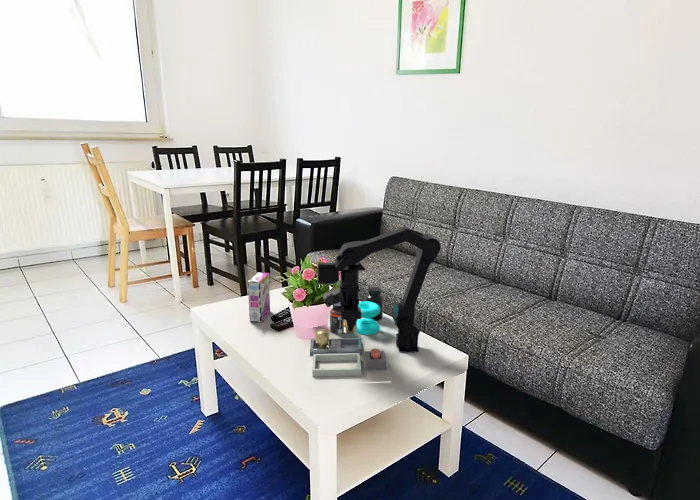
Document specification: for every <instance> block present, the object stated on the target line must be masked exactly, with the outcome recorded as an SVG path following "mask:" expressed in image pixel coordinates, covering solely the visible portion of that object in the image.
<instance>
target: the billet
mask: <svg viewBox="0 0 700 500" xmlns="http://www.w3.org/2000/svg"><path fill="white" fill-rule="evenodd" d="M343 331H344V332H345V333H346V334H351V335H352V334H355V333H356V331H357V322H356V324H355V326H354V328H353V330H352V331H349V330H348V326H347V321H346V320H343ZM345 333H344V334H345Z"/></svg>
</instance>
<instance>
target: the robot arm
mask: <svg viewBox="0 0 700 500" xmlns="http://www.w3.org/2000/svg"><path fill="white" fill-rule="evenodd" d="M406 242H407V243H409V244H411V245H413V246H414V247H416V252H415V253H416V256H415V258H416V260H415V263H414V266H413V267H412V271H411V275H410V278H409V280H408V283H407V286H406V287H405V291H404V294H403V296H402V299H401V300H400V301H399V302H396V301H395V302H394V305H393V309H392V310H391V315H392V320H393V321H394V325H395V326H396V328H397V333H395V334H396V336H395V345H396V348H397V350H398V352H399V353H417V352H420V351H419V335H420V332H421V330H420V329H419V326H418V325H417V323H416V321H415V315H416V314H415V313H416V310H415V309H416V303H417V302H418V301H417V300H418V298H419V295H420V293H421V290H422V287H423V283H424V281H425V280H426V276H427V273H428V270H429V268H430V265H432V263H433V262H434V261H435V260H436V258H437V257H438V255H439V254H440V252H441V248H442V245H441V243H440V241H439V240H438V239H437V238H436V237H435V236H434V235H433V234H430V233H422V232H420V231H418V230H414V229H412V228H410V227H409V226H406V225H405V226H402V227H400V228H398V229H394V230H392V231H389V232H386V233H383V234H381V235H378V236H375V237H372V238H370V239H366V240H356V241H348V242H346V243H343V244H342V245H341V247H340V250H339V253H338V255H337V256H336V258H335V259H334V262H318V263H317V271H316V272H317V285H319V286H320V285H336V284H337V283H338V282H339V281H340V284H339V288H335V289H332V290H330V291H327V292H324V293H323V294H322V297H323V298H322V299H323V301H324V305H325V306H326V308H330V307H331V306H333V305H334V304H337V303H339V302H340V305H341V306H342V308H341V319H343V320H346V321H347V326H348V330H349V331H352V330H353V328H354V326H355V324H356V322H357V320H359V319H362V318H361V308H360V307H359V306H358V305H359V302H360V294H359V293H360V271H366V267H365V265H364V264H363V263H362V261H363V260H365V259H366V258H367V257H368V256H370V255H372V254H374V253H377V252H380V251H383V250H386V249H388V248H389V249H390V248H391V247H394V246H397V245H400V244H403V243H406Z"/></svg>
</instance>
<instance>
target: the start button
mask: <svg viewBox="0 0 700 500" xmlns="http://www.w3.org/2000/svg"><path fill="white" fill-rule="evenodd" d="M370 351H371V359H380V351H381V350H380V349H379V348H371V350H370Z"/></svg>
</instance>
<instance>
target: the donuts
mask: <svg viewBox="0 0 700 500" xmlns="http://www.w3.org/2000/svg"><path fill="white" fill-rule="evenodd" d="M358 306H359V307H360V308H361V319H358V320H357V331H356V332H355V333H356V334H358V335H363V336H364V335H365V336H366V335H367V336H368V335H374V334H376V333H378V332H379V331H380V329H381V327H380V326H381V325H380V324H379V322H378V321H375V320H372V319H367V318H373V317H375V316H377V315H378V314H379V313H380V307H379V305H377V304H376V303H373V302H368V301H366V300H364V301H359V305H358Z"/></svg>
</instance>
